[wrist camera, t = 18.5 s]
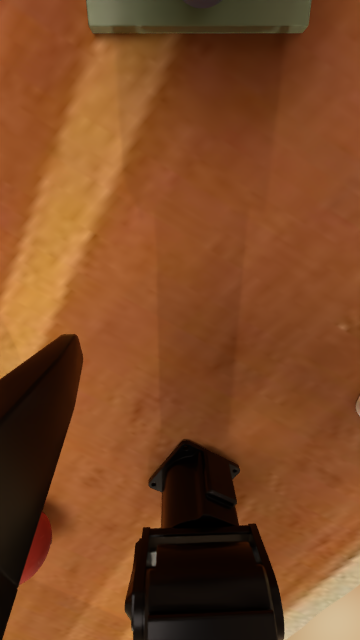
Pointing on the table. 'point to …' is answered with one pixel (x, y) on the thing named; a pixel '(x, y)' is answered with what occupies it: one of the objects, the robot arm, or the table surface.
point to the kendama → (38, 548)
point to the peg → (202, 3)
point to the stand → (198, 16)
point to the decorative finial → (358, 406)
